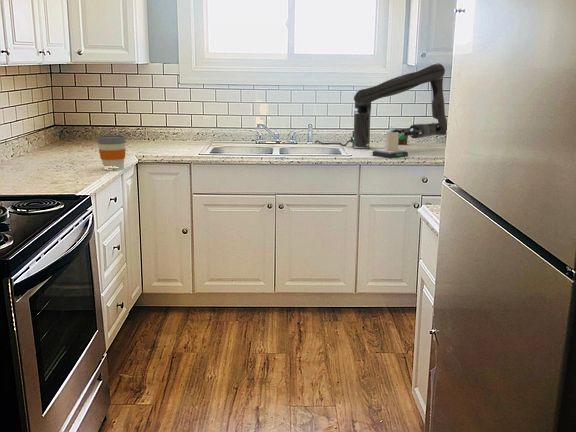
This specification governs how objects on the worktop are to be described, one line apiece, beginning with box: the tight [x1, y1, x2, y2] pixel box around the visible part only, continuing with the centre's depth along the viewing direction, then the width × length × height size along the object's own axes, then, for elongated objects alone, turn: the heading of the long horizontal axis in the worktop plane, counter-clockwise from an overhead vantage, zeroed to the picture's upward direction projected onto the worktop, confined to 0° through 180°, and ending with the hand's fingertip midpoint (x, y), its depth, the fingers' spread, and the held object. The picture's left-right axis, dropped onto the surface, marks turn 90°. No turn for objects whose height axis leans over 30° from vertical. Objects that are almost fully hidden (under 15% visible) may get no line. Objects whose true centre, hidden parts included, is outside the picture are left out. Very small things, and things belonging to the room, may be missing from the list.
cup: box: [385, 131, 399, 151], centre depth 324 cm, size 6×6×9 cm
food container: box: [389, 126, 409, 146], centre depth 369 cm, size 12×6×10 cm, turn 62°
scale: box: [371, 147, 409, 159], centre depth 324 cm, size 13×13×3 cm
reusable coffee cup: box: [97, 134, 127, 171], centre depth 287 cm, size 13×12×15 cm
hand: (398, 133), depth 326 cm, fingers open, 8 cm apart
